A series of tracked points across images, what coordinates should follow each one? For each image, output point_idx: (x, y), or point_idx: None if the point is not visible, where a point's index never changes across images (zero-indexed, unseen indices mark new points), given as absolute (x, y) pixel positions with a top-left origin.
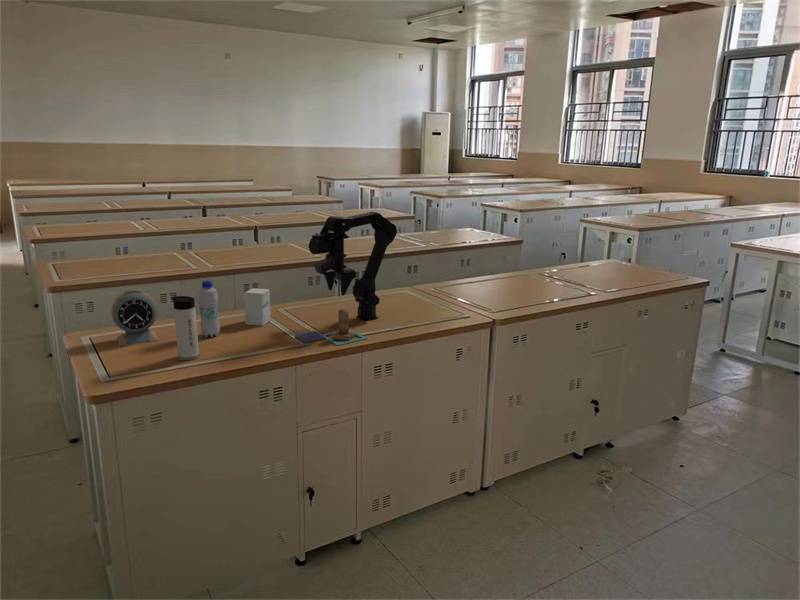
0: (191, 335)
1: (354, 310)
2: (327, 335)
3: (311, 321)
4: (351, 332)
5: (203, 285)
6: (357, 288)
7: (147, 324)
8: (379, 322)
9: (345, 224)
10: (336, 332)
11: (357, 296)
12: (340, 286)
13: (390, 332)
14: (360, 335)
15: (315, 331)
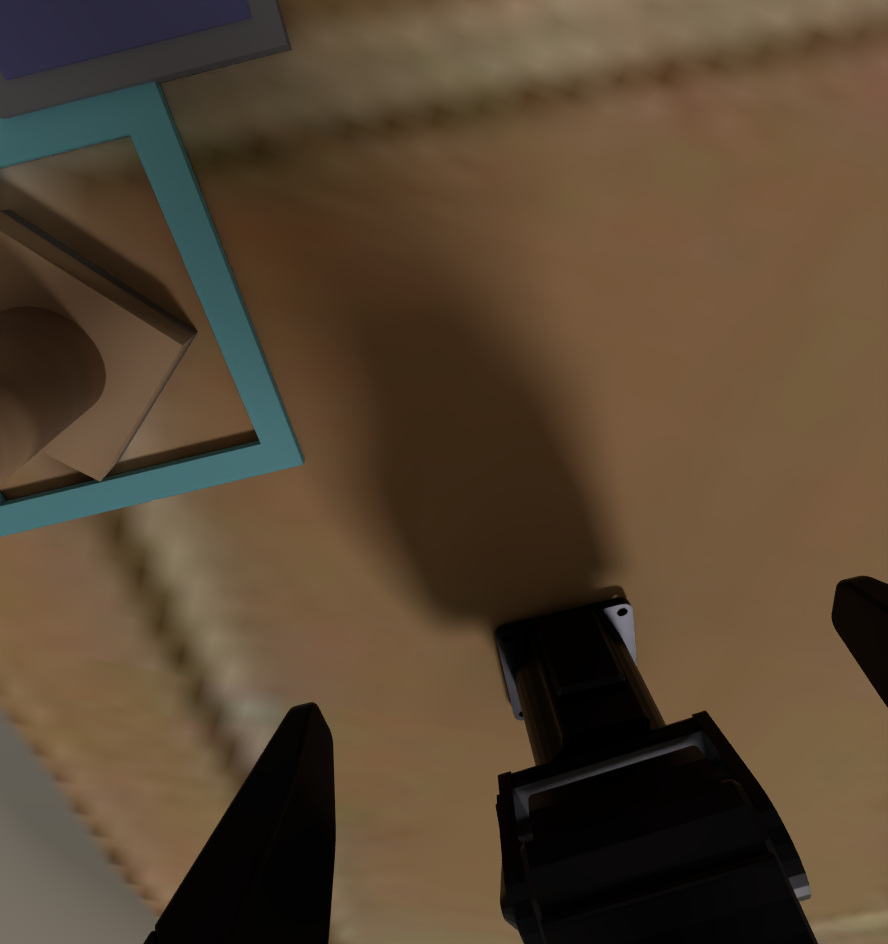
0: None
1: (797, 623)
2: (153, 184)
3: (748, 157)
4: (60, 444)
5: None
6: (680, 908)
7: None
8: (427, 699)
9: None
10: (74, 288)
11: (634, 789)
12: (219, 939)
13: (167, 708)
14: (78, 505)
15: (262, 43)
